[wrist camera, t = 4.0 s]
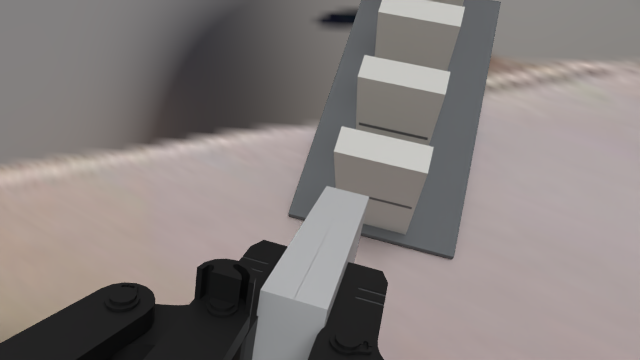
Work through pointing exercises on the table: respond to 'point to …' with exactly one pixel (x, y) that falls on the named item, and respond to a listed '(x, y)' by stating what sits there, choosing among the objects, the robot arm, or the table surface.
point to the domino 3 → (382, 175)
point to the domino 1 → (418, 32)
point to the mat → (447, 139)
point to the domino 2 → (399, 99)
